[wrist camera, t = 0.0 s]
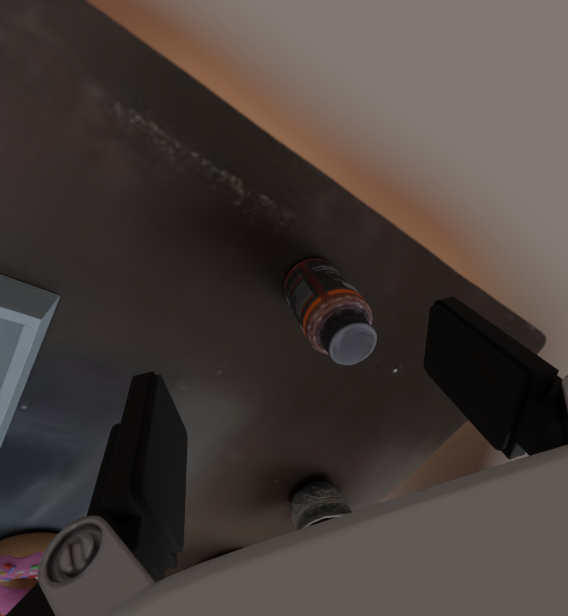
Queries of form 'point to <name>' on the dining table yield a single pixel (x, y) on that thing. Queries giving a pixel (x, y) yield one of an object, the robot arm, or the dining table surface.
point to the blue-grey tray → (20, 339)
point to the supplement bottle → (330, 311)
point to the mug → (318, 504)
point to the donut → (20, 566)
